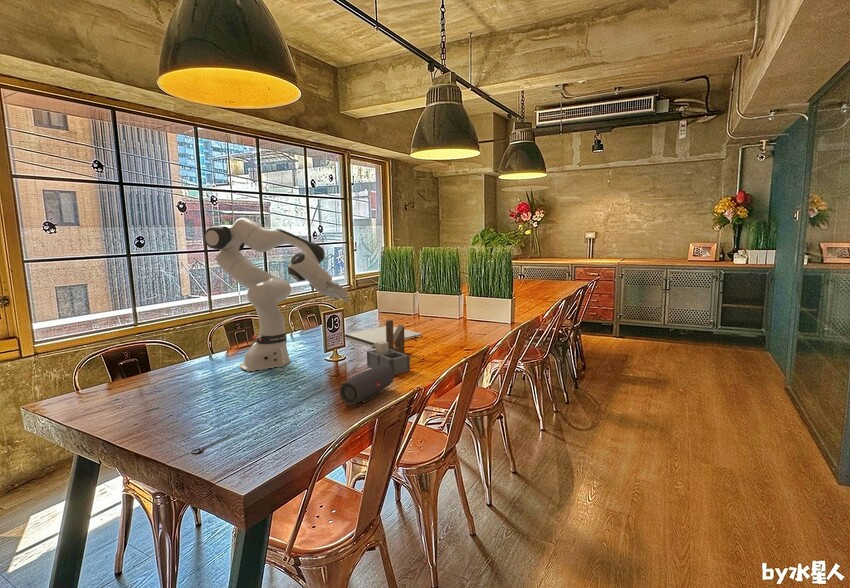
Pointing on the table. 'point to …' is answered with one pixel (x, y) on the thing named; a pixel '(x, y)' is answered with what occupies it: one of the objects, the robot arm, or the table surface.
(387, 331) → the wooden block
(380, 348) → the clay bar
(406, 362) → the grey cinder block
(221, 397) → the table surface
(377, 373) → the bluetooth speaker
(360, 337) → the white flat board
